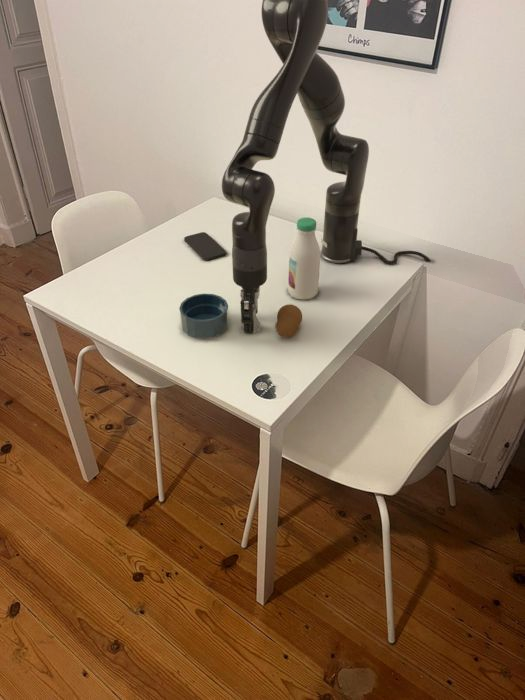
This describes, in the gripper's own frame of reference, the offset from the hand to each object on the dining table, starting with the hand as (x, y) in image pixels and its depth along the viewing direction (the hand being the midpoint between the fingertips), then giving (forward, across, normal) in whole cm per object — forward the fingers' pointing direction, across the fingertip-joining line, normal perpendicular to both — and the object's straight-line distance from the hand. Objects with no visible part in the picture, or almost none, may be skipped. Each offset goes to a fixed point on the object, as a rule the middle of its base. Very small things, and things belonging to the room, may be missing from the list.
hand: (251, 322), depth 125 cm
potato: (+2, 0, -9) cm, 9 cm away
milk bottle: (+2, +17, -12) cm, 21 cm away
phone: (+2, +38, +18) cm, 42 cm away
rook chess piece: (+2, 0, 0) cm, 2 cm away
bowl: (+2, 0, +11) cm, 11 cm away
